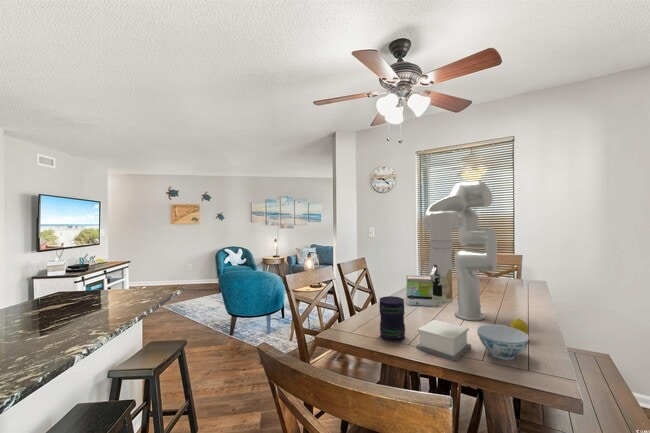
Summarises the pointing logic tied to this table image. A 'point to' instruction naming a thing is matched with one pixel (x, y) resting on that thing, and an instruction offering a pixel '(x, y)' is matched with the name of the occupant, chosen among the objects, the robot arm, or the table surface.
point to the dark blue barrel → (392, 319)
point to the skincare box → (444, 290)
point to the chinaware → (503, 340)
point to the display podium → (443, 339)
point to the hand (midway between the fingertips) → (442, 293)
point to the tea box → (419, 290)
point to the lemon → (519, 325)
